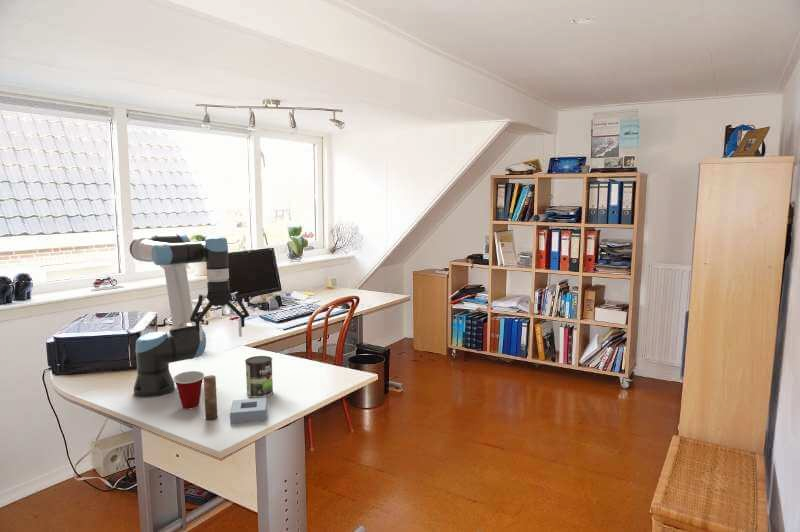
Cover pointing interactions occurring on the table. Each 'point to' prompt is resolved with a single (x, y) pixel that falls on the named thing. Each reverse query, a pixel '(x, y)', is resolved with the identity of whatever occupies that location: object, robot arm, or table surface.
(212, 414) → the peg
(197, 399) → the plastic cup
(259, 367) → the coffee can
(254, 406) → the socket block
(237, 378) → the table surface
